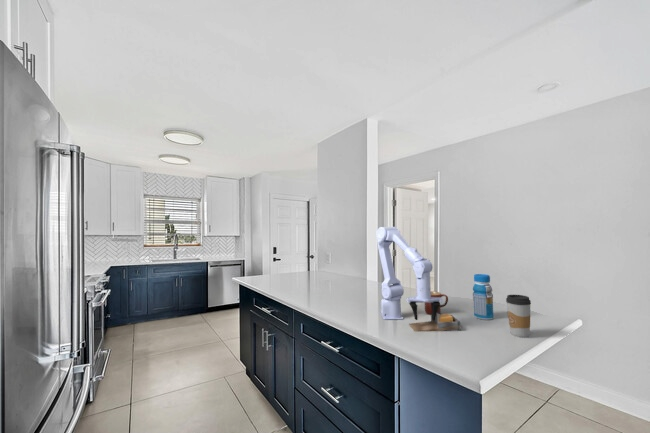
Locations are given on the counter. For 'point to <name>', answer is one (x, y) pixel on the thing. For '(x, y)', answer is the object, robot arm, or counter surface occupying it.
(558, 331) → the counter surface
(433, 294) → the mug
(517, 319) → the coffee cup
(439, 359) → the counter surface
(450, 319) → the orange block with knobs
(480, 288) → the beverage bottle
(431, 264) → the robot arm
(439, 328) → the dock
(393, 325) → the counter surface
